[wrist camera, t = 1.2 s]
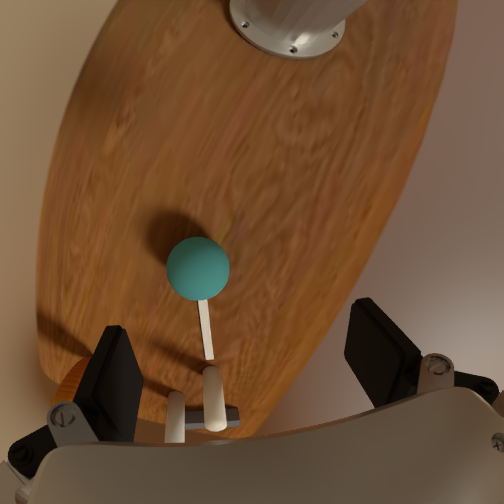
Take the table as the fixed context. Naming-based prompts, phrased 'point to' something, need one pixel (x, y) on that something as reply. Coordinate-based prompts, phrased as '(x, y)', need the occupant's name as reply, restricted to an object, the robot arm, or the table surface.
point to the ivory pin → (213, 399)
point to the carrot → (71, 382)
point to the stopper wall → (197, 422)
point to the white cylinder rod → (175, 418)
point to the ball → (197, 268)
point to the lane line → (206, 329)
